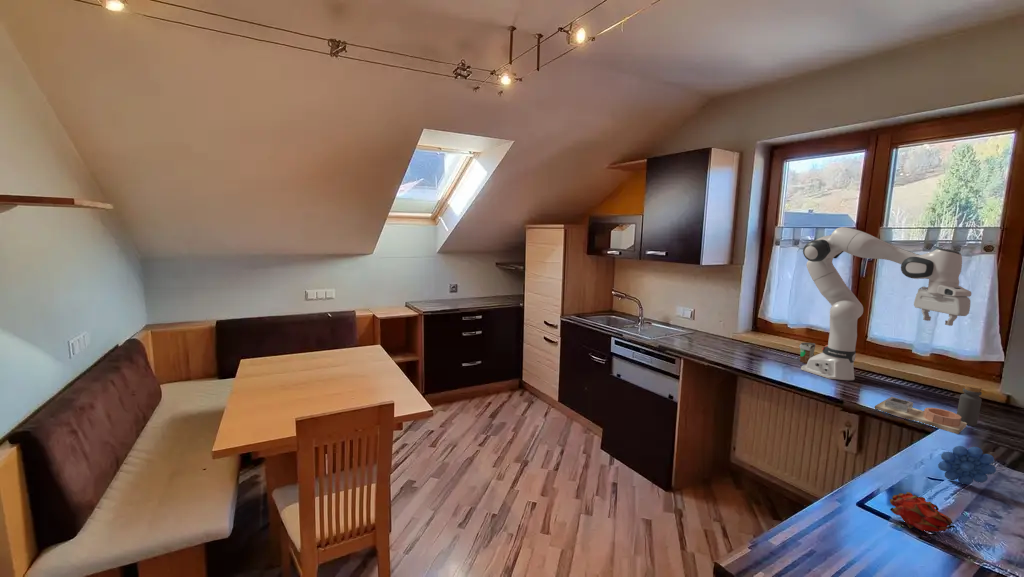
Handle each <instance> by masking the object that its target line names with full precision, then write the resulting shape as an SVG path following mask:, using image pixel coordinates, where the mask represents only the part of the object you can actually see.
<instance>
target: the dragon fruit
mask: <svg viewBox="0 0 1024 577" xmlns="http://www.w3.org/2000/svg"><path fill="white" fill-rule="evenodd" d="M889 503H890V504H891V505H892V506H893V507H891V508H890V509H889V510H890V511H891V513H892V514H894V515H896V516H900V518H901V519H902V521H903V520H904V521H905V522H904V523H906V526H907V528H908V527H909V529H912V528H916V529H917V530H920V531H921V532H923V531H924V530H925V531H929V532H934V533H935V532H936V533H935V534H937V532H942V531H943V532H946V530H949V529H954V528H955V525H953V524H954V522H953V520H952V519H951V518H950V517H949V516H948V515H946V514H944V513H942V512H940V511H939V509H940V508H939V507H938V505H937V504H934V503H933V502H932V501H926V498H925V497H923V496H917V495H916V494H915V493H914V494H913V493H912V492H910V491H906V492H905V493H903V492H899V493H898V494H893V496H892V498H889Z"/></svg>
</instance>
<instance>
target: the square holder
mask: <svg viewBox="0 0 1024 577" xmlns="http://www.w3.org/2000/svg"><path fill="white" fill-rule="evenodd" d="M885 400H886V401H885V407H887V408H890V409H894V410H897V411H901V412H904V413H908V412H909V411H911V410H912V408H914V407H913V405H914V402H913V401H909V400H906V399H902V398H899V397H894V396H890V397H888V398H887V399H885Z"/></svg>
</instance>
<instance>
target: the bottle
mask: <svg viewBox="0 0 1024 577" xmlns="http://www.w3.org/2000/svg"><path fill="white" fill-rule="evenodd" d="M982 389H983V388H982V387H981V386H979V385H976V384H971V383H965V384H964V388H963V387H962V392H963V393H961V394H960V395H959V399H958V405H957V409H956V414H958V415H960V416H961V417H962V418H961V421H962V422H965V423H967V426H971V427H976V426H978V421H979V415H980V412H981V411H980V410H981V405H982V400H983V399H982V398H981V397H980V396H982V394H983V393H982Z"/></svg>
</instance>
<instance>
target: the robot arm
mask: <svg viewBox="0 0 1024 577" xmlns="http://www.w3.org/2000/svg"><path fill="white" fill-rule="evenodd" d="M802 250H803V251H802V253H803V254H802V255H803V257H805V259H806V260H807V262H806V268H807V271H808V273H809V276H810V278H811V279H812V281H813V283H814V284H815V286H816V288H817V289H818V291H819V293H820V294H821V296H823V298H825V299H826V301H827V302H828V303H829V304H830V306H831V307H830V309H829V334H828V342H827V344H826V345H825V346H823V347H821V351H822V352H820V353H817V354H814V356H813V357H811V358H810V359H809V360H808V362H807V364H803V365H801V367H800V370H802V371H804V372H806V373H807V372H808V373H810V374H813V375H816V376H820V377H823V378H825V379H829V380H841V381H854V380H856V379H855V371H854V362H855V361H856V356H857V354H856V346H857V338H858V319H859V318H860V317H862V315H863V313H864V306H863V304H862V303H861V302H860V300H859V299H858V298H857V296H856V295H855V293H853V291H852V290H851V289H850V288H849V287H848V286H847V283H846V282H845V281H844V280H843V278H842V276H841V275H840V273H839V272H838V269H836V267H835V265H834V263H833V260H834V259H837V258H839V257H840V255H842V254H843V253H847V254H849V255H852V256H855V257H858V258H862V259H875V260H876V259H877V260H886V261H890V262H892V263H895V264H899V265H900V271H901V273H902V274H903V275H904V276H905V277H907V278H909V279H912V280H913V279H914V280H919V279H921V280H922V279H927V280H928V284H927V286H921V287H919V288H917V293H916V294H915V298H914V301H913V306H914V308H916V309H921V313H922V314H921V315H923V319H922V320H924V321H927V322H930V321H931V319H932V317H931V316H930V313H929V312H930V311H933V312H937V313H941V314H947V315H948V317H949V318H948V319H947V320H945V323H944V325H946V326H949V327H951V326H953V325H954V322H955V321H956V320H957V318H958V317H966V316H967V315H969V313H970V309H971V298H970V297H971V296H972V291H971V290H969V289H967V288H964V287H962V286H960V279H959V278H960V275H961V273H962V266H963V265H962V264H963V255H962V254H961V252H960V251H957V250H955V249H949V248H935V250H932V251H930V252H927V253H924V254H918V253H915V252H912V251H909V250H908V249H907V250H906V249H904V248H900V247H898V246H895V245H892V244H890V243H888V242H886V241H884V240H882V239H880V238H878V237H876V236H873V235H872V234H870V233H867V232H865V231H862V230H859V229H854V228H850V227H846V226H840V227H837V228H836V229H834V230H833V231H832V232H831V233H830V234H829V235H824V236H821V237H819V238H817V239H814V240H811V241H809V242H807V243H806V244H805V245H804V247H803V249H802Z"/></svg>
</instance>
